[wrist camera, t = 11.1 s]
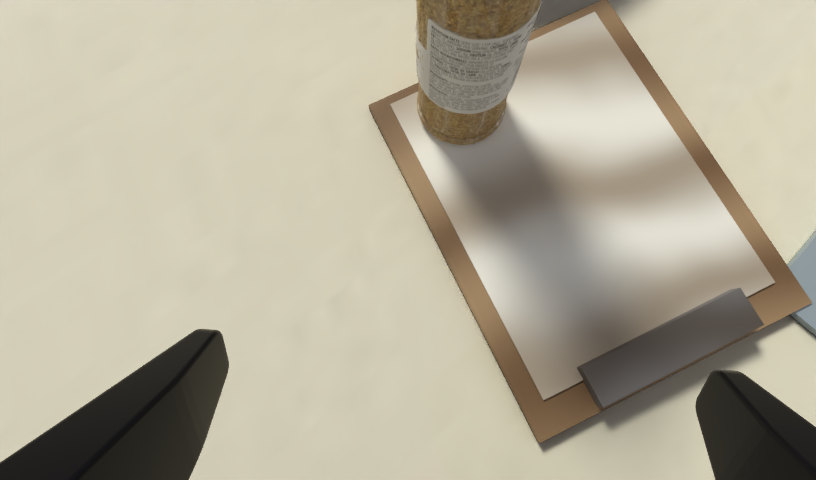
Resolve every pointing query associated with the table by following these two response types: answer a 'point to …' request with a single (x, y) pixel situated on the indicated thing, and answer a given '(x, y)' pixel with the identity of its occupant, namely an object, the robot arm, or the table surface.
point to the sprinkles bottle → (469, 63)
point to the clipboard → (591, 226)
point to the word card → (806, 282)
